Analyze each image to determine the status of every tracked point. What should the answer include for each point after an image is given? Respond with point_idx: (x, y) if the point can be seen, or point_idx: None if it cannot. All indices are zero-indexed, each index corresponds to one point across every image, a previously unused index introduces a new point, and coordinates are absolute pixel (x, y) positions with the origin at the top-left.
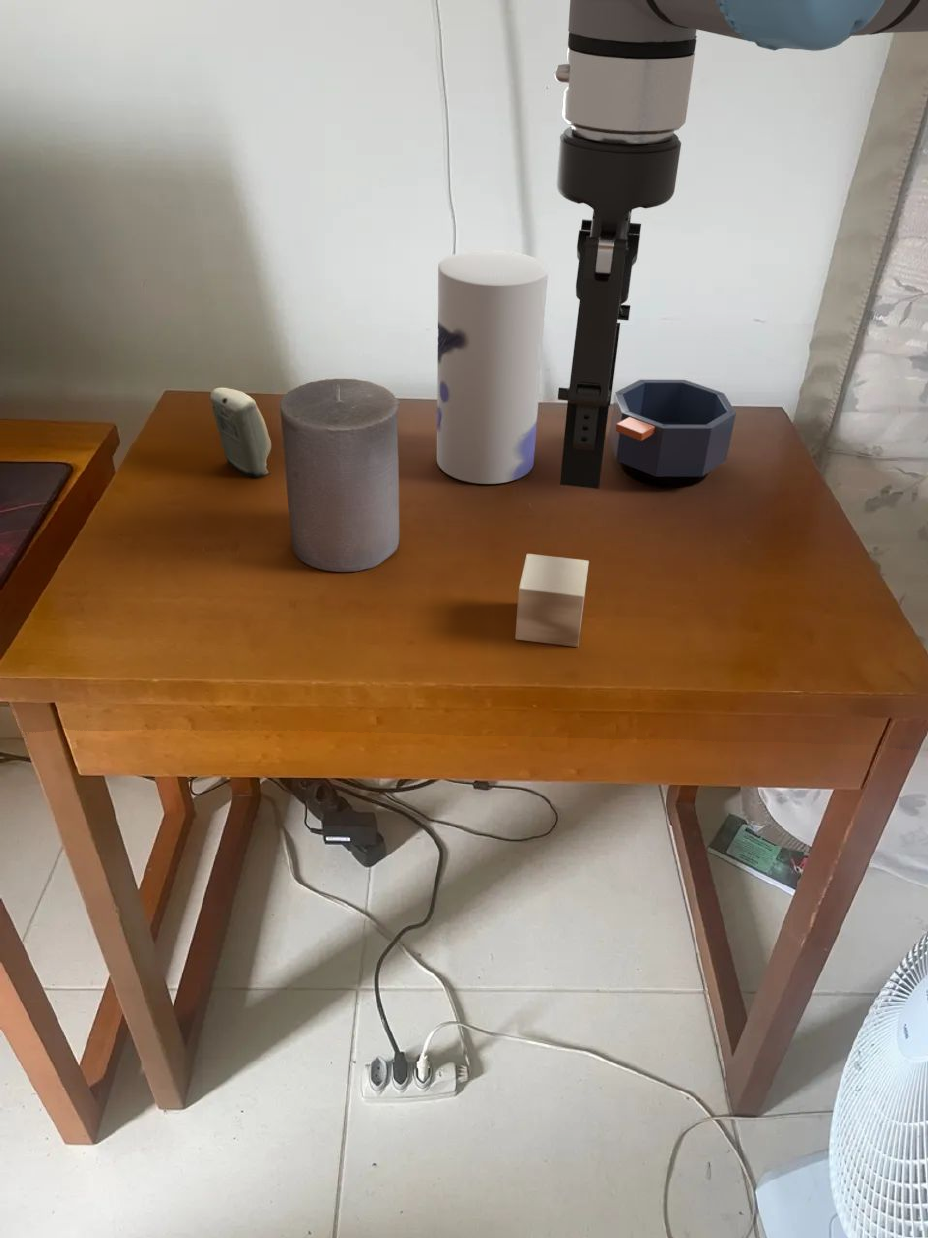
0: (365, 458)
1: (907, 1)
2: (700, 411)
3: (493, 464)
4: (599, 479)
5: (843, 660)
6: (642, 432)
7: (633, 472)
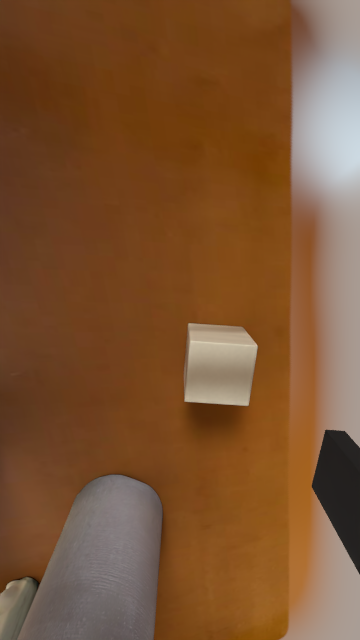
0: (139, 620)
1: None
2: None
3: None
4: (355, 444)
5: (244, 47)
6: None
7: None
